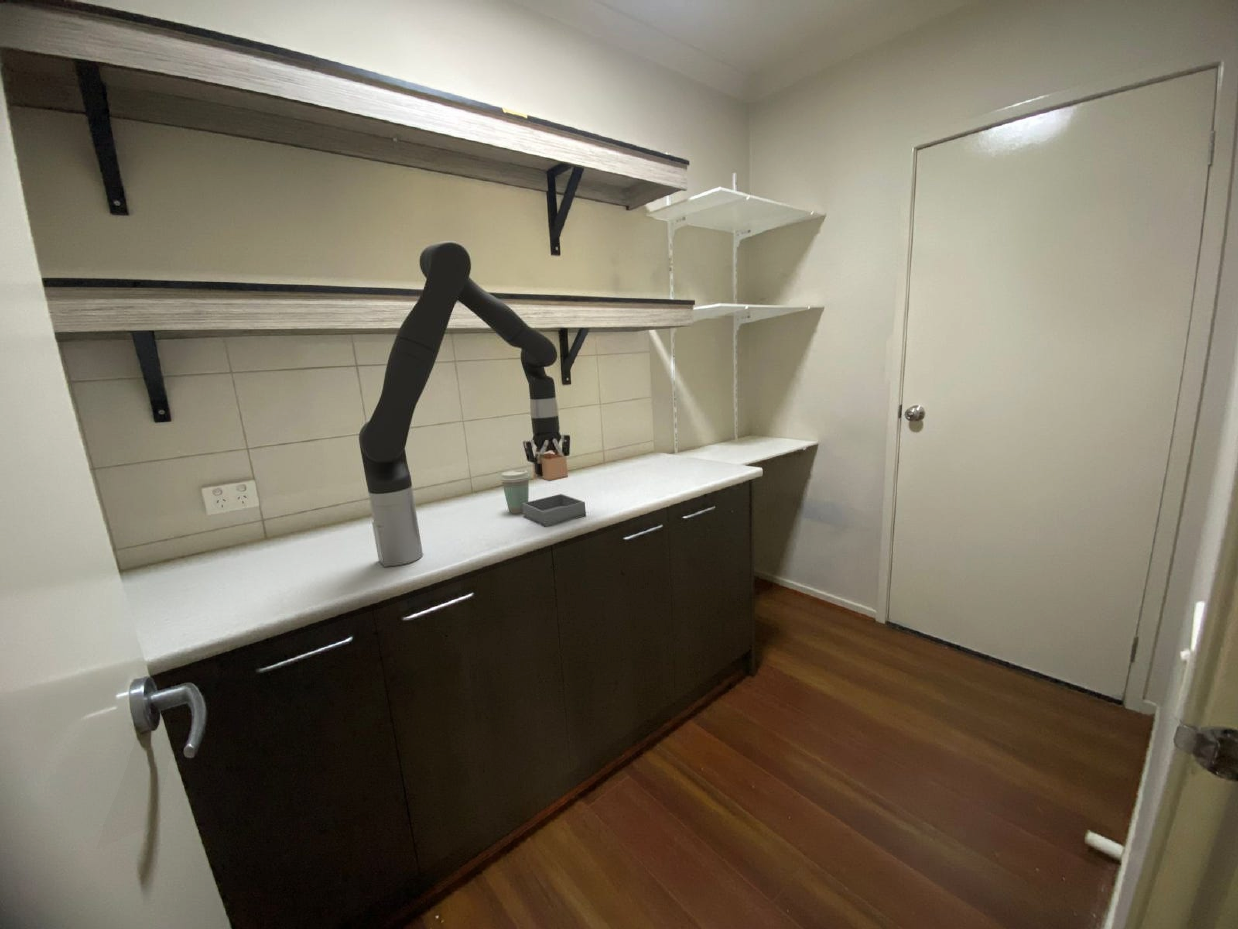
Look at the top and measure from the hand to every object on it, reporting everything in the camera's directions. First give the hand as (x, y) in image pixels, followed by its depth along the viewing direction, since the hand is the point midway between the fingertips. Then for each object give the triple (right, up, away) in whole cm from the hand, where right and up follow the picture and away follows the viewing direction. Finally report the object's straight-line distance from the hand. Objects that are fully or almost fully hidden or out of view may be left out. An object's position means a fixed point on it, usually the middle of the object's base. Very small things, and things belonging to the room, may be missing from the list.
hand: (550, 473), depth 139 cm
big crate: (+1, -12, +3) cm, 13 cm away
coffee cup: (-11, -12, +10) cm, 19 cm away
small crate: (0, -1, 0) cm, 1 cm away
